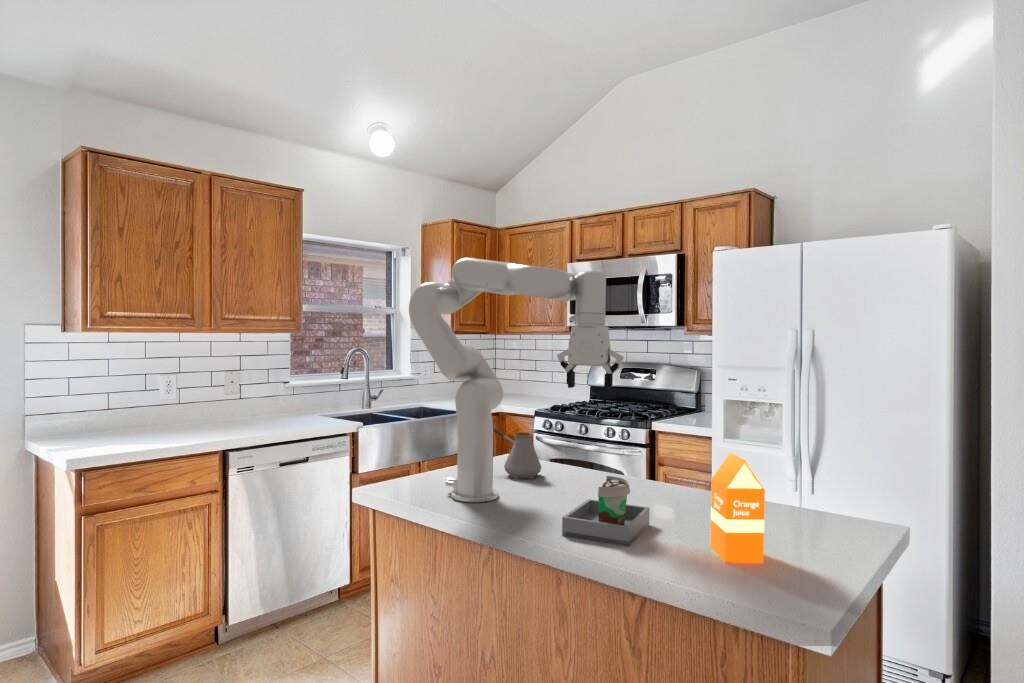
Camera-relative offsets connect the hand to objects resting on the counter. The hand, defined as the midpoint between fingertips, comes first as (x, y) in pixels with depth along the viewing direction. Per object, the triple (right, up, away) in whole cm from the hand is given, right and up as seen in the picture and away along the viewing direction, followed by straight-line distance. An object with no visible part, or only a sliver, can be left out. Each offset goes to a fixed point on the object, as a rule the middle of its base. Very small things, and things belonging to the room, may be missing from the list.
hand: (589, 388), depth 161 cm
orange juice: (+26, -32, -32) cm, 52 cm away
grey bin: (+2, -31, -17) cm, 35 cm away
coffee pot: (-20, -30, +37) cm, 52 cm away
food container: (+4, -30, -18) cm, 35 cm away
